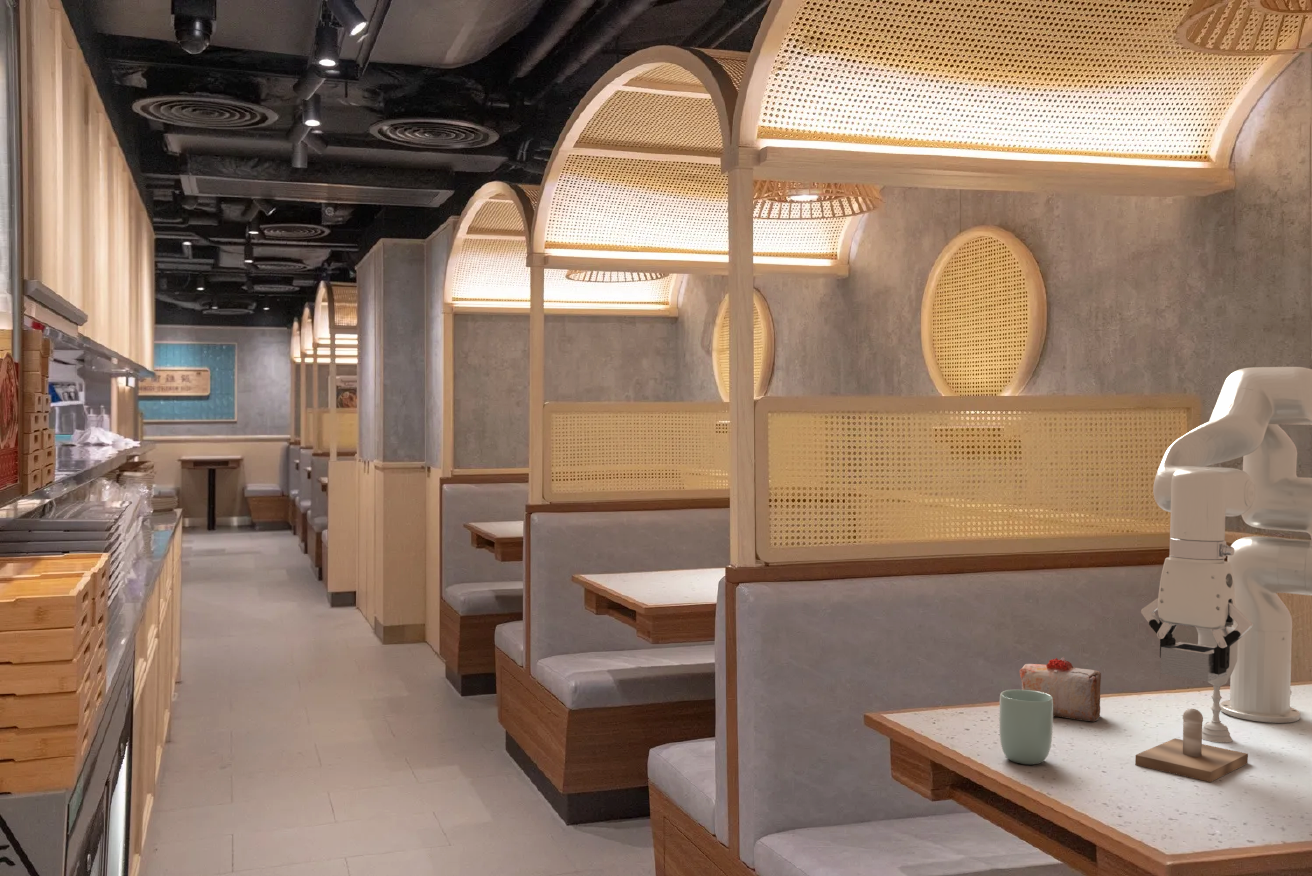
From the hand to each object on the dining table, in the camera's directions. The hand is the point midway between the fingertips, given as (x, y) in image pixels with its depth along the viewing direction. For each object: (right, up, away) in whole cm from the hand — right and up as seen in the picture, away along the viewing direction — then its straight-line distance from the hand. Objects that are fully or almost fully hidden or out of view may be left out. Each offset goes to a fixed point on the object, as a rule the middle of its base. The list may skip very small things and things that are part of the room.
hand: (1193, 667), depth 176 cm
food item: (-10, -14, +30) cm, 35 cm away
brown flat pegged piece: (0, -15, 0) cm, 15 cm away
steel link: (0, -1, 0) cm, 1 cm away
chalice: (+11, -15, +15) cm, 24 cm away
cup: (-25, -14, +1) cm, 29 cm away
